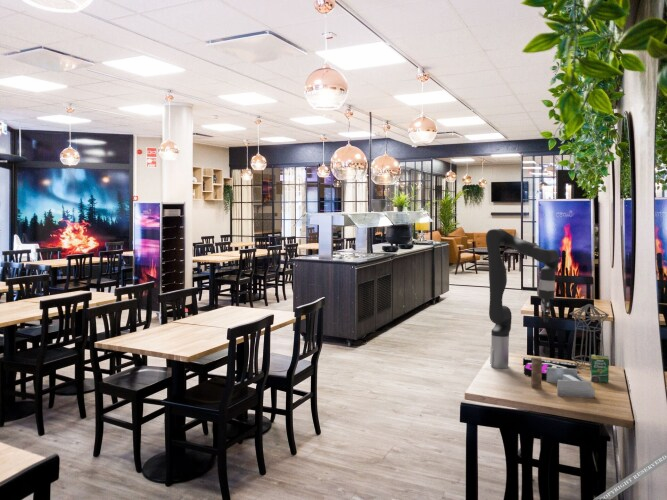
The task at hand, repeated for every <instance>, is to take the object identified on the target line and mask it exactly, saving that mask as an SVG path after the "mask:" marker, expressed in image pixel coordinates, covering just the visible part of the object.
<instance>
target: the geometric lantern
mask: <svg viewBox="0 0 667 500" xmlns="http://www.w3.org/2000/svg"><path fill="white" fill-rule="evenodd" d="M589 308H590V310H591V311H588V310H589ZM599 311H600V312H601V313H600V312H599ZM583 313H584V314H583ZM582 314H583V315H582ZM586 314H587V316H586ZM569 315H571V316H573V318H574V335H573V336H574V337H573V344H572V350H571V352H572V353H571V360H572V361H573V362H575V364H576V365H577V369H582V370H588V371H591V355H592V354H591V352H592V351H591V346H592V332H593V355H596V332H599V331H600V333H601V334H600V337H601V339H600V340H601V341H600V355H601V356H605V351H604V350H605V349H604V328H603V325H604V321H605V320H606V319H607V318H608V317H609V316H610V315H609V314H608V313H607V312H605V311H603V310H601V309H599V308H598V307H596V306H594V305H593V304H591V303H587V304H586V305H584V306H582V307H580V308H578V309H576V310H574V311H572V312H569ZM595 316H596V317H595ZM581 318H582V319H583V320H582V319H581ZM585 318H587V319H586V320H585ZM577 320H578V323H577ZM593 320H597V322H598V323H597V324H596V326H589V325H590V324H591V322H592V321H593ZM601 320H602V321H601ZM588 321H589V322H588ZM580 322H581V323H582V325H579V324H580ZM587 322H588V323H587ZM598 325H599V326H600V327H598ZM581 327H582V328H581ZM585 327H586V329H585ZM591 328H592V329H593V330H591ZM577 330H582V336H581V337H582V338H581V346H580V355H577V356H575V355H576V354H575V353H576V342H577V341H576V340H577ZM585 331H586V334H585V333H584V332H585ZM588 333H589V355H587V353H588V352H587V349H588ZM584 334H585V336H586V337H585V355H583V354H582V352H583V344H584ZM579 357H580V359H576V358H579ZM583 357H584V359H583ZM586 358H589V360H588V361H586ZM585 363H586V364H585ZM588 364H589V365H588ZM582 366H583V367H582ZM584 366H585V367H589V368H584Z"/></svg>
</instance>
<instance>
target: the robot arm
mask: <svg viewBox="0 0 667 500" xmlns="http://www.w3.org/2000/svg"><path fill="white" fill-rule="evenodd" d="M485 243H486V249H487V258H488V259H487V260H488V262H487V263H488V282H489V283H488V284H489V308H488V317H489V319H490V321H491V322H492V323H493V324H495V325H494V326H493V328H492V329H491V334H490V335H491V336H490V337H491V340H490V341H491V342H490V343H491V345H490V352H489V353H490V356H489V357H490V359H489V361H490V364H491V365H490V364H489V365H490V366H491V368H495V367H496V369H507V367H508V368H509V358H510V357H509V355H510V350H509V348H510V347H509V346H510V332H511V329H512V317H513V316H512V310H511V309H510V308H509V307H508V306H507V305H503V297H504V292H505V289H506V286H507V282H508V275H507V268H506V264H505V262H504V261H503V259H502V257H501V249H500V248H501V246H505V247H508V248H512V249H514V250H516V251H517V252H518V253H520V254H522V255H524V256H526V257H529V258H532V259H534V260H535V261H537V262H539V263H541V264H544V266H543V267H542V268H541V270H540V271H539V281H538V295H537V296H538V298H540V299H541V301H540V311H541V314H540V315H541V316H540V319H542V320H543V323H549V319H550V318H549V316H550V315H551V304H552V303H551V302H550V300H554V299H555V293H556V289H555V288H556V271H557V269H558V265H559V262H560V255H559V252H558V251H557V250H556V249H544V248H542V247H541V246H540V245H538V244H535V243H533V242H530V241H527V240H524V239H522V238H519V237H517V236H515V235H513V234H511V233H510V232H508V231H506V230H504V229H501V228H490V229H489V230H488V231H487V232H486V235H485Z"/></svg>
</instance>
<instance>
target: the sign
mask: <svg viewBox="0 0 667 500" xmlns="http://www.w3.org/2000/svg"><path fill="white" fill-rule="evenodd" d="M541 359H542V381H546V372H547V367H550V368H570V369H577V370H578V368H577V363H572V362H569V361H561V360H552V359H543V358H541ZM522 365H523V375H524V374H525V375H524V376H527V375H528V376H527V377H530V376H531V375H532V357H531V358H530V357H523V358H522ZM524 365H525V366H524Z"/></svg>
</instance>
